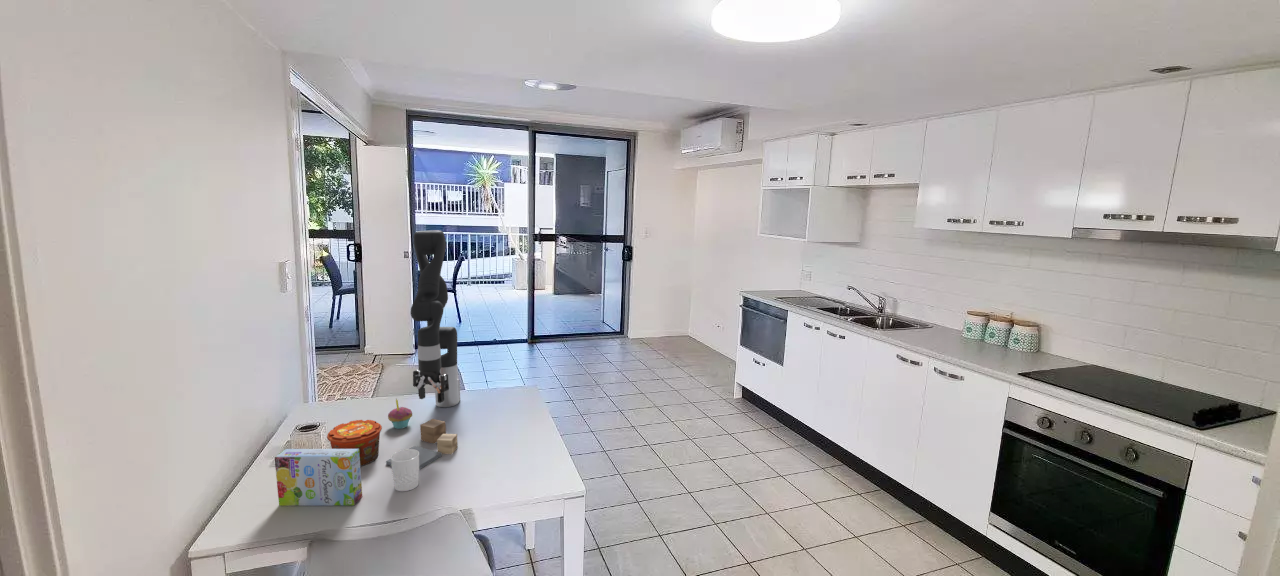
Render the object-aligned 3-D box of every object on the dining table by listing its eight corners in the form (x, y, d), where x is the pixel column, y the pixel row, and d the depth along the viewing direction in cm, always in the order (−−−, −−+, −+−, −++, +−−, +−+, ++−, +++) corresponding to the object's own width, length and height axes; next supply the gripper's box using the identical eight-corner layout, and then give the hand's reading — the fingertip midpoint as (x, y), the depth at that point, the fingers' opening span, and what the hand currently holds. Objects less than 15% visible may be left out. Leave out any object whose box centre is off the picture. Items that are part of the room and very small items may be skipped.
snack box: (363, 495, 156) (360, 447, 153) (354, 506, 150) (350, 456, 148) (289, 495, 155) (285, 447, 153) (277, 506, 150) (272, 456, 147)
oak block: (443, 447, 187) (442, 433, 186) (457, 447, 187) (457, 434, 186) (437, 453, 182) (437, 440, 181) (452, 454, 182) (451, 440, 181)
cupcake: (406, 431, 199) (404, 400, 197) (384, 430, 199) (382, 400, 197) (416, 421, 207) (415, 392, 205) (395, 421, 207) (393, 391, 205)
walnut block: (433, 434, 197) (432, 418, 196) (446, 437, 195) (445, 421, 194) (421, 440, 192) (420, 424, 191) (434, 443, 189) (433, 427, 188)
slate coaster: (414, 448, 185) (414, 445, 185) (441, 455, 180) (441, 452, 180) (386, 464, 174) (386, 461, 174) (414, 472, 170) (414, 468, 169)
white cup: (412, 476, 167) (411, 446, 165) (425, 485, 162) (424, 454, 161) (387, 486, 161) (385, 455, 159) (400, 495, 156) (398, 464, 155)
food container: (361, 473, 168) (358, 441, 167) (317, 467, 171) (314, 436, 170) (393, 450, 184) (392, 421, 182) (353, 445, 187) (351, 416, 185)
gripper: (452, 356, 189) (454, 400, 191) (422, 351, 194) (424, 393, 197) (437, 362, 182) (439, 407, 185) (405, 356, 187) (408, 400, 190)
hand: (431, 400), depth 191 cm, fingers open, 8 cm apart
